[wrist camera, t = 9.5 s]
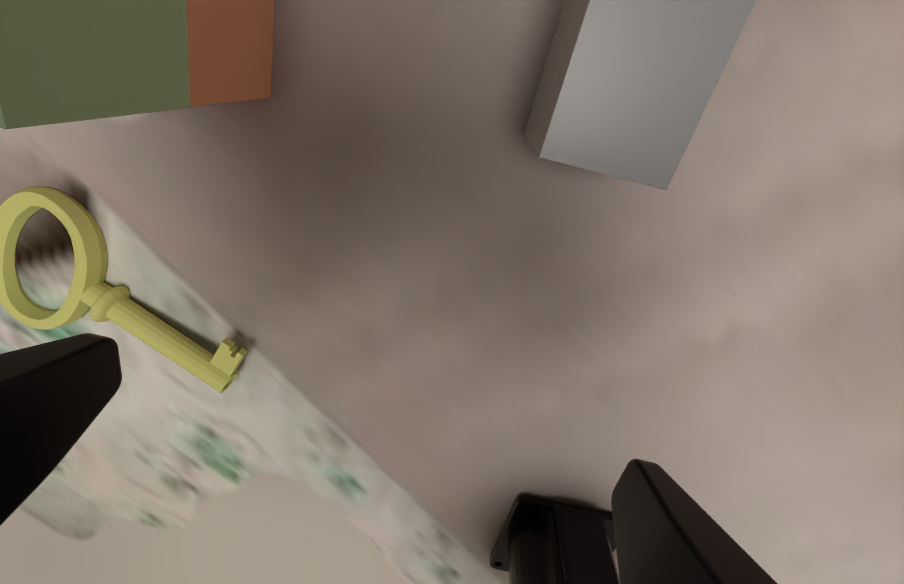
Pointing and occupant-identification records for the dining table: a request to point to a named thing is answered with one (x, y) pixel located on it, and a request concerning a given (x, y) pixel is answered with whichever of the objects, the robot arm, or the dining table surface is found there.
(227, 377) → the key
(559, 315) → the dining table surface
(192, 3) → the rust brick
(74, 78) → the green brick
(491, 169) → the dining table surface
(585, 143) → the gray brick
